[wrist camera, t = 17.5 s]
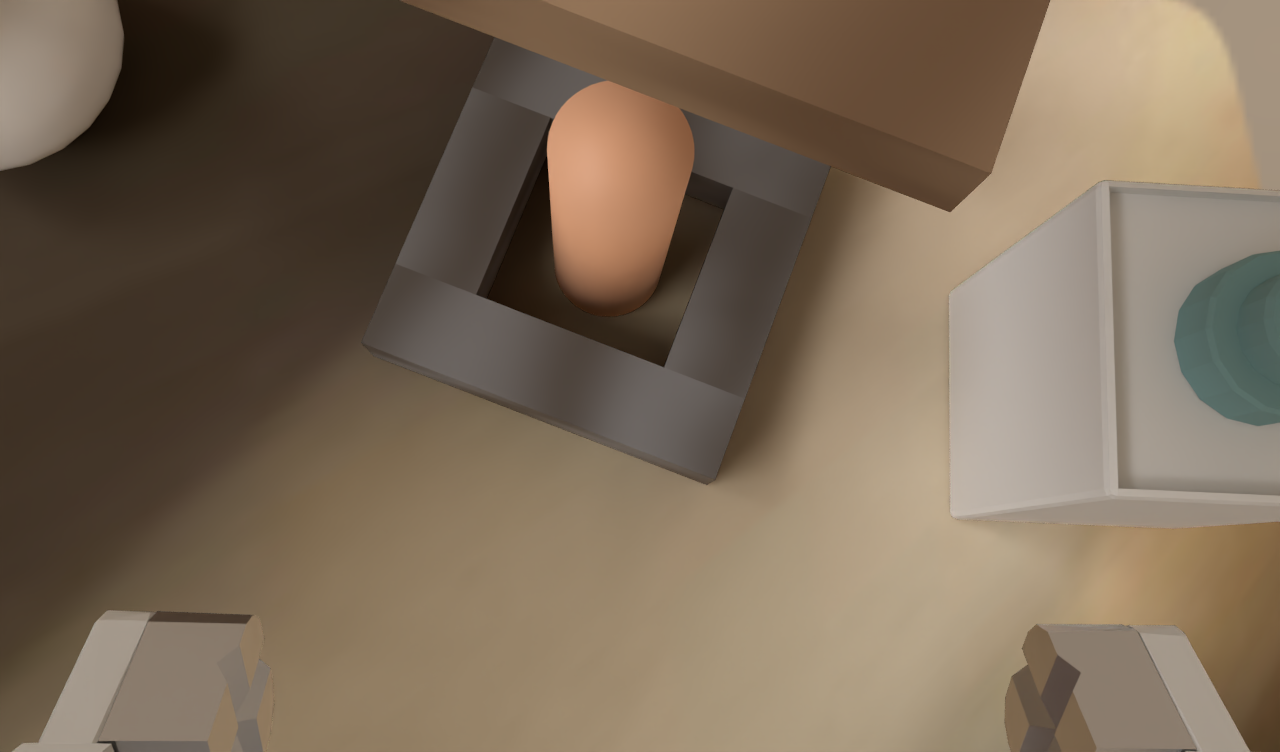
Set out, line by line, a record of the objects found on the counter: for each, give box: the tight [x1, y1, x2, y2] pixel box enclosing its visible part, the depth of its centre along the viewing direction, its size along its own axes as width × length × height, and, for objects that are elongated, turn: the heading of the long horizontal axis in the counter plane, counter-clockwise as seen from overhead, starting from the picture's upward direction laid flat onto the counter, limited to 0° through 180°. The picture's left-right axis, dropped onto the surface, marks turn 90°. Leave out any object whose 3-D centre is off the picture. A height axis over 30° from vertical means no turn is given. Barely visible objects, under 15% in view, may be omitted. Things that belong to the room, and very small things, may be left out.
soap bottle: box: [949, 180, 1280, 529], centre depth 34 cm, size 9×9×19 cm
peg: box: [547, 81, 694, 317], centre depth 37 cm, size 4×4×12 cm
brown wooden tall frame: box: [361, 0, 1050, 485], centre depth 29 cm, size 14×16×29 cm
